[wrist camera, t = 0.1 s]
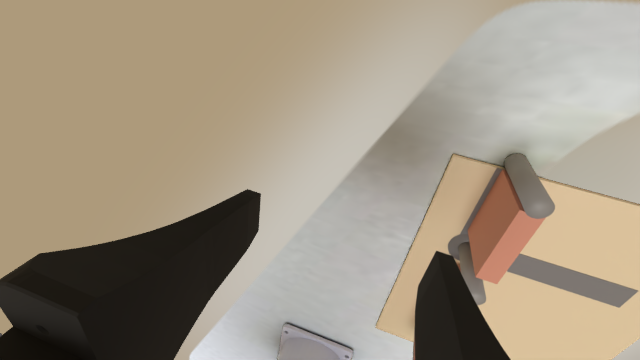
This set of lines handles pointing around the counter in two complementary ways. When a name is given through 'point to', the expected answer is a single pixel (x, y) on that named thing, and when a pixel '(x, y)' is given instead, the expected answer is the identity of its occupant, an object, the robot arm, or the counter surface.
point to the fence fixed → (503, 225)
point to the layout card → (537, 270)
